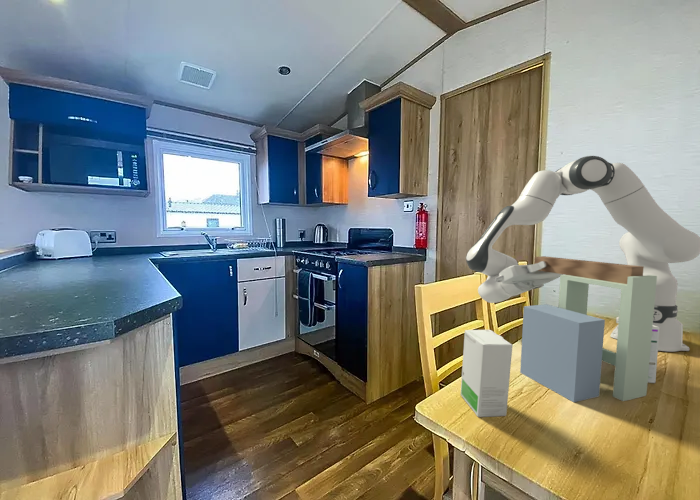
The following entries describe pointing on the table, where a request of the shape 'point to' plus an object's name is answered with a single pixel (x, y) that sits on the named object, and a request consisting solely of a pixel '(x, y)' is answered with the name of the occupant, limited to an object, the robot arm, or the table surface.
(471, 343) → the skincare box
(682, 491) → the table surface
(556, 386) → the slate-blue block
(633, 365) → the sage shelf
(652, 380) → the syrup box
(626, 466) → the table surface
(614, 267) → the walnut batten
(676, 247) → the robot arm
